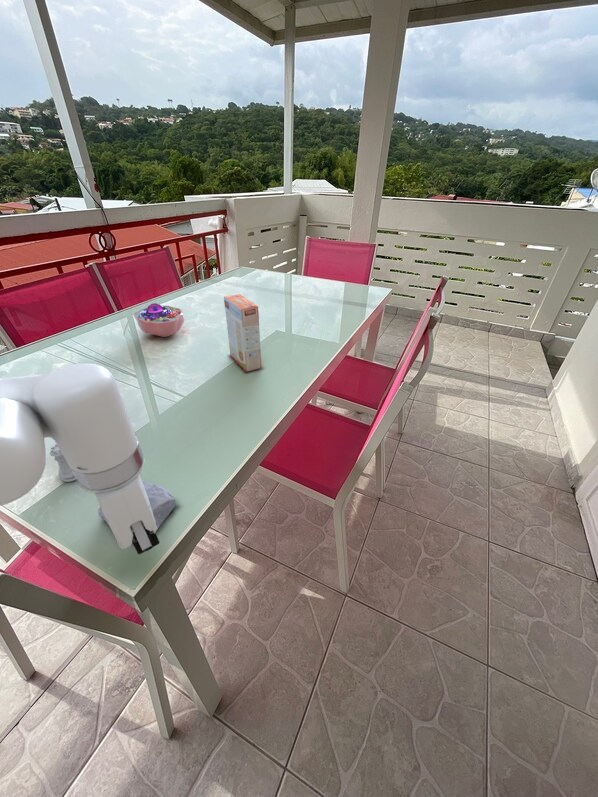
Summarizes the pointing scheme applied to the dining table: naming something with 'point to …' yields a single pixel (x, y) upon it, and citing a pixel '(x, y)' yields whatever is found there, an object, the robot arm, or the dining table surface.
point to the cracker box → (243, 331)
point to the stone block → (156, 502)
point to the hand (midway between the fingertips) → (147, 545)
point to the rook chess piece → (62, 465)
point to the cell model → (160, 320)
